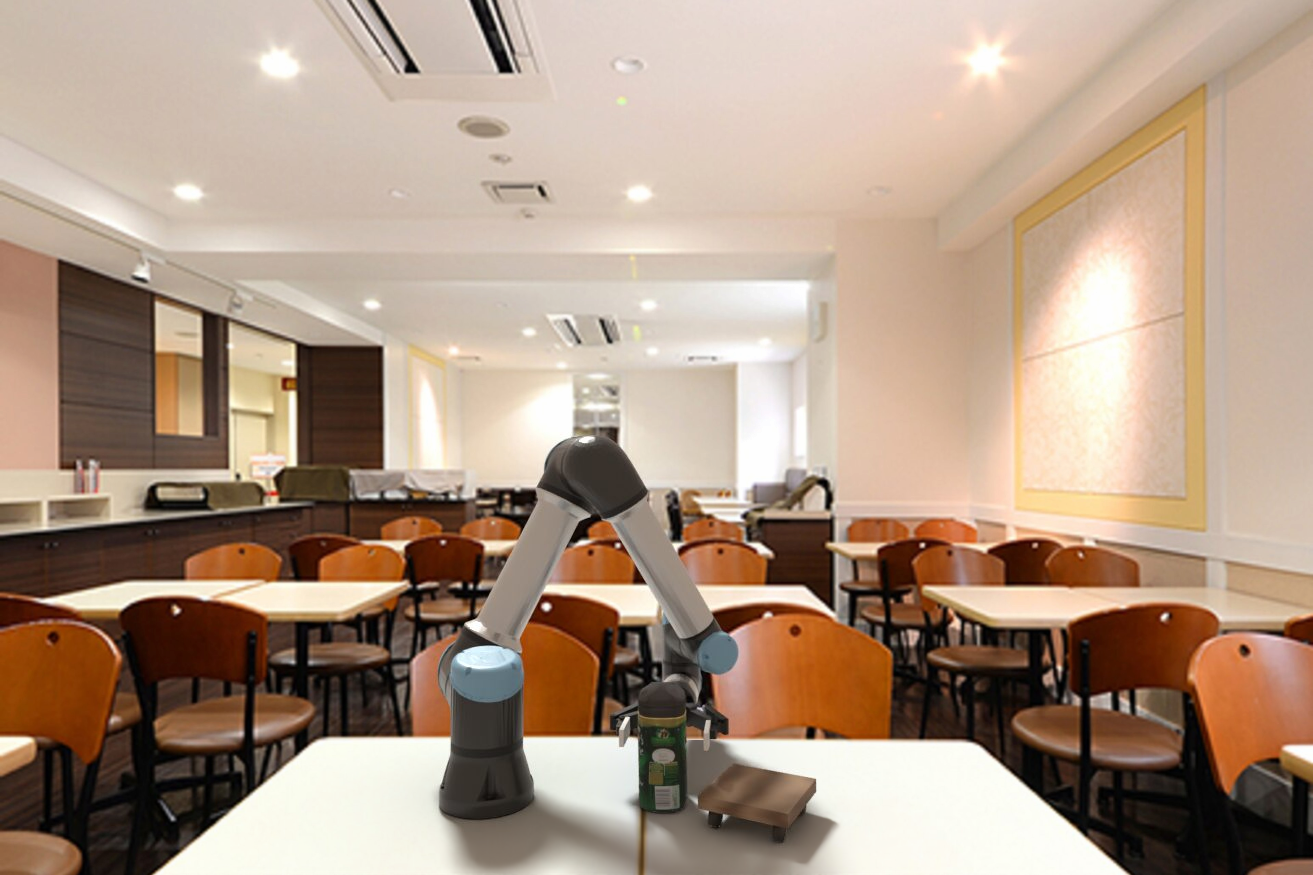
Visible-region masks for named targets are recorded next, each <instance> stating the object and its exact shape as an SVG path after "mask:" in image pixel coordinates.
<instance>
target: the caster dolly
mask: <svg viewBox="0 0 1313 875" xmlns="http://www.w3.org/2000/svg"><path fill="white" fill-rule="evenodd" d="M815 794H817V778H815V777H809V776H804V775H797V774H793V773H787V772H783V771H782V772H781V771H777V770H771V769H767V768H761V767H760V768H759V767H755V766H749V765H743V764H739V763H732V764H731V765H729V766H728V767H727V768H726V769H725V770H724V771H723V772H721V774H720V775H718V776H717V777H716V778H715V779H714V780H713V781H712V782H710V783H709V784H708V785H707V786H706V787H705V788H704V789H703V790H702V791H700V792H699V794H697V809H698V810H702V811H707V812H708V813H707V814H708V815H707V823H708V826H709V827H711V828H715V829H719V828H720V827H722V826H721V825H722V823H723V821H724V820H723V819H724V815H725V816H730V817H735V818H738V819H743V820H748V821H751V822H757V823H762V824H766V825H771V826H772V827H771V828H772V829H771V839H772V841H773V842H777V843H784V842H785V839H786V836H787V829H789V828H790V827H791V825H792V824H793V823H794V821H795V820H796V819H797V818H798V816H799V815H800V816H804V815H805V813H806V810H807V805H808V803H809V802H810V801H811V800H812V798H813V797H814V796H815ZM719 826H720V827H719Z"/></svg>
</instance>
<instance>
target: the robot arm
mask: <svg viewBox="0 0 1313 875" xmlns="http://www.w3.org/2000/svg"><path fill="white" fill-rule="evenodd" d="M543 464H544V465H543V474H542V476H541V478H540V480H539V481H538V484H537V486H536V487H535V493H536V496H537V503H536V505H535V506H534V508H533V510H532V512H531V514H530V516H529V518H528V520H527V522H526V523H525V525H524V528H523V530H522V532H521V534H520V536H519V537H518V539H517V541H516V543H515V545H514V547H513V549H512V551H511V552H510V554H509V556H508V558H507V560H506V562H505V564H504V566H503V568H502V570H501V571H500V573H499V575H498V577H497V580H496V581H495V583H494V584H493V587H492V589H491V591H490V592H489V595H488V596H487V598H486V600H485V602H484V604H483V606H482V608H481V609H480V612H479V614H478V615H477V617H476V618H475V619H472V620H469V621H466V622H464V624H463V625H462V628H461V630H460V632H459V634H458V636H457V637H456V639H455V641H453V642H451V644H449V645H448V646H447V647H446V648H445V649H444V651H443V653H442V655H441V656H440V658H439V662H438V665H437V666H438V667H437V684H438V686H439V689H440V692H441V694H442V695H443V697H444V698H445V700H446V702H447V705H448V706H449V710H450V712H449V713H450V754H449V756H448V761H447V764H446V766H445V769H444V774H443V777H442V781H441V784H440V786H439V790H438V806H439V807H440V809H441V810H442V811H443V812H444V813H446V814H447V815H450V816H453V817H457V818H461V819H463V818H464V819H473V820H474V819H475V820H476V819H492V818H497V817H502V816H507V815H509V814H513V813H515V812H517V811H520V810H522V809H524V808H525V807H527V806H528V805H529V804H530V803H531V802H532V801H533V800H534V796H535V781H534V778H533V776H532V774H531V770H530V767H529V763H528V758H527V757H526V753H525V750H524V682H525V670H524V663H523V660H522V657H521V655H522V652H523V647H522V644H521V641H520V640H521V639H520V638H521V637H522V634H523V633H524V631H525V628H526V627H527V625H528V623H529V620H530V619H531V617H532V614H533V613H534V611H535V609H536V607H537V605H538V603H539V601H540V600H541V597H542V596H543V593H544V592H545V589H546V587H547V585H548V583H549V582H550V579H551V578H552V576H553V573H554V571H555V569H556V567H557V566H558V564H559V561H560V560H561V558H562V556H563V554H564V551H565V550H566V548H567V545H568V544H569V542H570V540H571V538H572V536H573V534H574V532H575V530H576V528H577V526H578V525H579V522H581V521H583V520H585V519H588V518H591V516H592V515H593V513H594V511H596V512H597V514H598V516H599V517H600V518H601V520H602V521H604V522H608V523H610V524H611V526H612V528H613V529H614V531H615V533H616V535H617V536H618V538H619V539H620V541H621V542H622V543H621V544H622V545H623V546H624V548H625V549H626V551H627V553H628V554H629V556H630V558H631V559H632V562H633V563H634V565H635V566H636V568H637V570H638V571H639V573H640V575H641V576H642V578H643V580H644V581H645V583H646V585H647V587H648V588H649V590H650V592H651V593H652V594H653V596H654V598H655V600H656V602H657V603H658V605H659V607H660V608H661V610H662V622H661V627H662V628H661V629H662V631H661V633H662V636H661V638H662V681H661V682H674V683H675V684H676V685H678V686H679V687H681V688H682V689H683V690H684V692H685V695H686V728H687V727H688V728H690V727H693V728H696V729H697V730H699V731H702V732H703V751H709V749H710V743H711V740H717V739H718V735H719V734H721V735H723V736H728V735H729V734H730V730H729V729H730V727H729V726H730V724H729V722H730V720H729V718H728V717H726V716H725V715H724V714H722V713H721V712H720V711H718V710H717V709H716V708H715V707H713V705H712V703H711V702H706V703H705V704H703V705H702V707H698V706H697V703H698V700H699V695H700V693H701V690H702V687H703V677H702V674H701V671H702V672H705V673H710V674H712V675H715V676H716V675H717V676H720V675H724V674H726V673H728V672H730V671H731V670H732V669H733V668H734V667H735V666H736V664H737V661H738V659H739V652H740V651H739V646H738V644H737V642H736V640H735V638H733V637H732V636H731V635H730V634H729V633H727V632H726V631H723V630H722V628H721V626H720V624H719V623H718V621H717V619H716V618H715V616H714V615H713V613H712V611H711V610H710V608H709V606H708V603H706V601H705V600H704V597H703V596H702V594H701V592H700V591H699V589H698V587H697V585H696V583H695V582H694V580H693V578H692V577H691V575H690V573H689V572H688V570H687V567H686V566H685V565H684V564H685V563H683V561H682V560H681V558H680V555H679V554H678V552H677V550H676V549H675V547H674V545H673V543H672V541H671V540H670V538H669V537H668V534H666V531H665V530H664V527H663V526H662V524H661V522H660V521H659V519H658V516H656V513H655V512H654V511H653V509H652V507H651V505H650V504H649V502H648V497H649V494H650V492H649V490H648V489H647V487H646V485H645V483H644V481H643V479H642V478H641V476H640V475H639V473H638V471H637V469H636V467H635V465H634V464H633V462H632V461H631V459H630V458H629V456H628V454H627V453H626V452H625V450H624V449H623V448H622V447H621V446H620V444H618V443H617V442H615V441H614V440H612V439H611V438H609V437H607V436H603V435H598V434H592V435H585V436H582V435H578V436H577V435H576V436H570V437H567V438H564V439H562V440H561V441H559V442H558V443H556V444H555V445H554V446H553V447H552V448H551V449H550V450H549V452H548V453H547V455H546V458H545V461H544V463H543ZM635 729H638V700H636V701H635V702H634V703H633V704H630V705H628V706H626V707H624V708H621V709H619V710H617V711H614V712H612V713H610V714H609V730H610V731H615V735H616V736H618V747H619V748H624V747H625V745H626V743H627V742H628V739H629V736H630V734H631V731H632V730H635Z"/></svg>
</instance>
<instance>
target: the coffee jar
mask: <svg viewBox="0 0 1313 875" xmlns="http://www.w3.org/2000/svg"><path fill="white" fill-rule="evenodd" d="M637 701H638V728H637V752H638V753H637V754H638V755H637V756H638V757H637V760H638V801H639V802H638V803H639V805H640V807H641V808H642V809H643V810H647V811H649V812H654V813H656V814H668V813H671V812H676V811H682V809H684V808H685V806H686V805H687V801H688V771H687V770H688V768H687V767H688V766H687V764H688V762H687V759H688V758H687V752H688V751H687V740H688V739H687V726H686V695H685V692H684V690H683V689H682V688H681V687H679V686H678V685H676V684H675V683H674V682H662V681H651V682H650V683H649V684H648V685H646V686H645V687H643V688H642V689H640V691H639V694H638V700H637Z"/></svg>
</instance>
